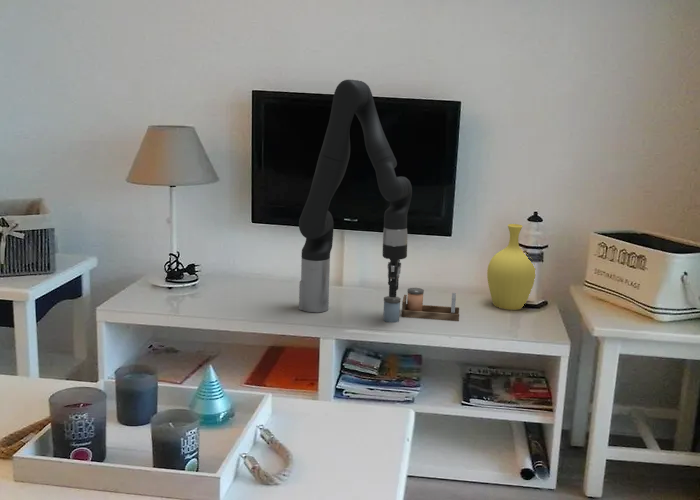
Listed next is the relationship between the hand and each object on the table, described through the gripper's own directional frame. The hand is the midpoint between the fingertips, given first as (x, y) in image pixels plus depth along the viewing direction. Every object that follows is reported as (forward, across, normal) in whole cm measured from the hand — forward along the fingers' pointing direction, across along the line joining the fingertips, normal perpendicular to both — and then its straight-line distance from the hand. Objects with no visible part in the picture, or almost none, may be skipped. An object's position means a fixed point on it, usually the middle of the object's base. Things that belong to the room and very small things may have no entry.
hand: (393, 293), depth 243 cm
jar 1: (+10, 0, -1) cm, 10 cm away
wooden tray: (+10, -8, +12) cm, 17 cm away
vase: (+10, -29, +38) cm, 48 cm away
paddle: (+9, -8, +19) cm, 22 cm away
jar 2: (+9, -8, +6) cm, 13 cm away
